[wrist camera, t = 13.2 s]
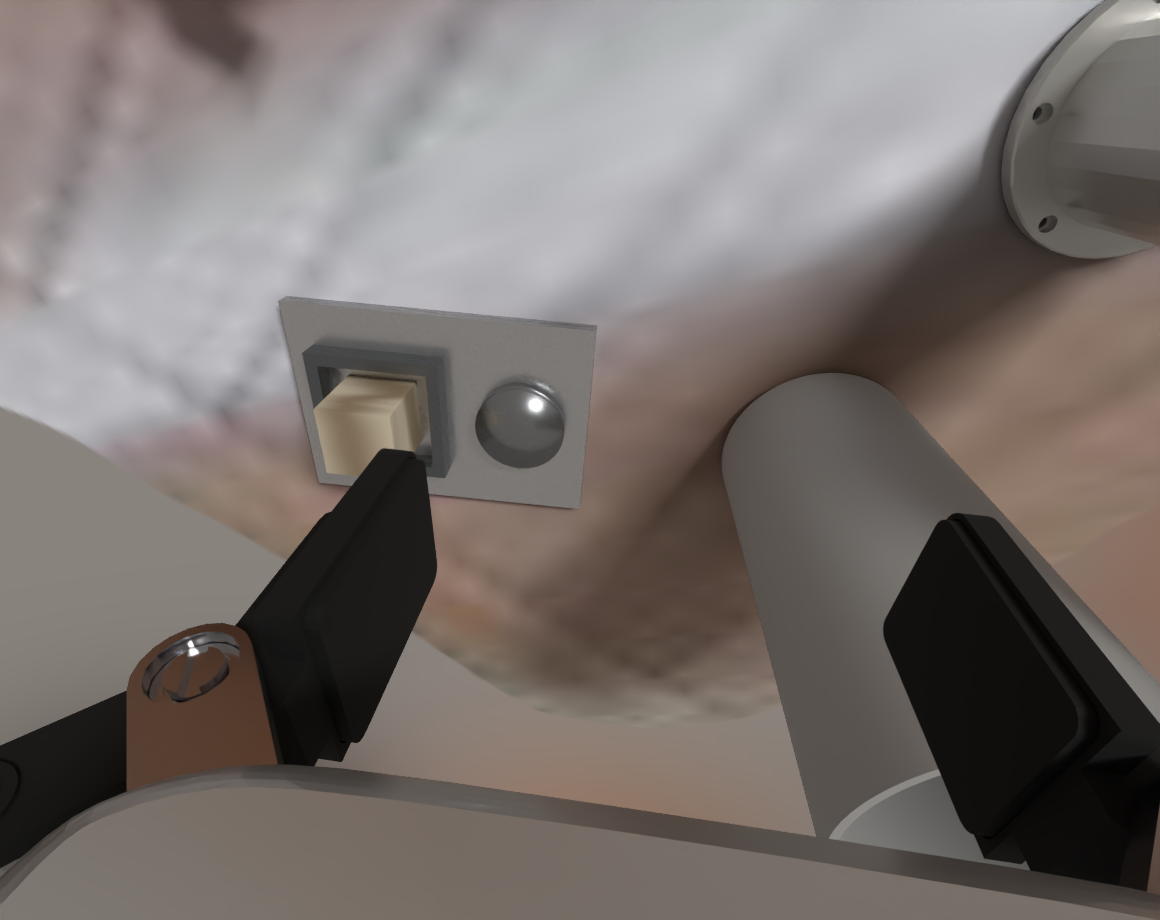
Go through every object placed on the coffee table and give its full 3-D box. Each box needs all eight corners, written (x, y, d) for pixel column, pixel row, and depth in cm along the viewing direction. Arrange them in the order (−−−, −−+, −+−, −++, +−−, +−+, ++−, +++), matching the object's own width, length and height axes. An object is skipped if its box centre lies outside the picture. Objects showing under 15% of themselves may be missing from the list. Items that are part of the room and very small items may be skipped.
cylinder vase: (881, 520, 42) (1137, 939, 21) (713, 519, 43) (796, 917, 22) (929, 366, 35) (1378, 755, 14) (728, 369, 36) (869, 736, 15)
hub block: (416, 381, 37) (389, 416, 33) (422, 440, 40) (398, 480, 35) (348, 374, 37) (313, 409, 33) (358, 433, 40) (326, 472, 35)
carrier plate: (596, 325, 35) (594, 339, 33) (580, 501, 43) (578, 521, 41) (286, 296, 36) (265, 308, 33) (325, 475, 43) (309, 494, 41)
